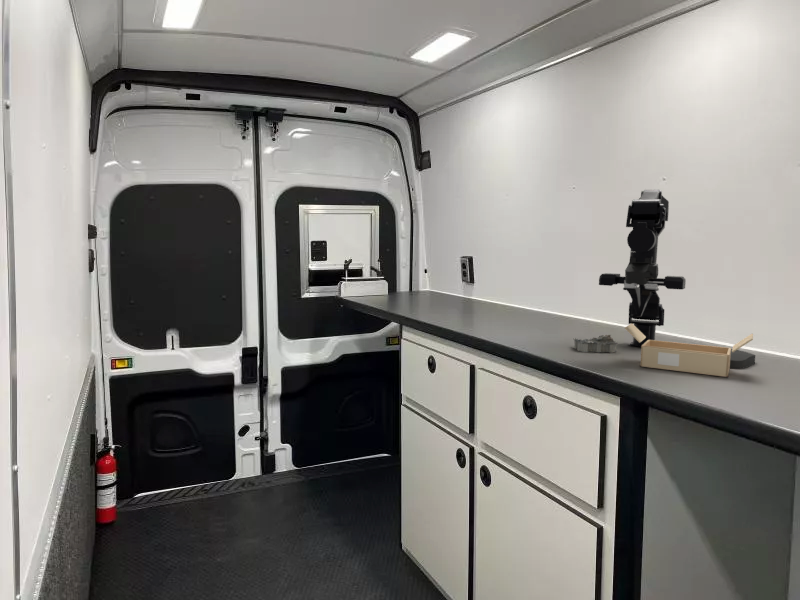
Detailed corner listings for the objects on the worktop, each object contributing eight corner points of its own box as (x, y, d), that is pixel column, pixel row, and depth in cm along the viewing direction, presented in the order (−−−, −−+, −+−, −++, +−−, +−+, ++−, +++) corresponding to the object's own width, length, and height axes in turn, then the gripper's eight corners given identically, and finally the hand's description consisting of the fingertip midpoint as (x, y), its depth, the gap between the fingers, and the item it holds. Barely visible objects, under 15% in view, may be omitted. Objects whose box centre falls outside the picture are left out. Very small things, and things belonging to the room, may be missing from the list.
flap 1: (640, 342, 135) (625, 327, 137) (639, 342, 136) (624, 328, 137) (646, 337, 142) (632, 323, 144) (645, 338, 143) (631, 323, 144)
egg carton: (611, 349, 158) (612, 334, 158) (618, 354, 151) (619, 339, 150) (572, 347, 159) (572, 333, 159) (577, 352, 152) (578, 337, 152)
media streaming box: (758, 363, 143) (759, 351, 143) (741, 371, 133) (742, 359, 133) (696, 354, 154) (697, 343, 153) (675, 361, 143) (676, 349, 143)
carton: (647, 358, 144) (648, 339, 144) (729, 368, 135) (731, 347, 134) (639, 367, 135) (641, 346, 134) (727, 377, 125) (729, 355, 125)
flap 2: (733, 345, 133) (752, 333, 130) (734, 346, 133) (753, 334, 130) (731, 351, 126) (751, 338, 123) (732, 352, 125) (752, 339, 123)
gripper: (595, 251, 135) (591, 316, 137) (682, 253, 126) (677, 323, 127) (605, 251, 145) (602, 312, 146) (687, 253, 135) (683, 318, 136)
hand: (639, 316), depth 139 cm, fingers closed
